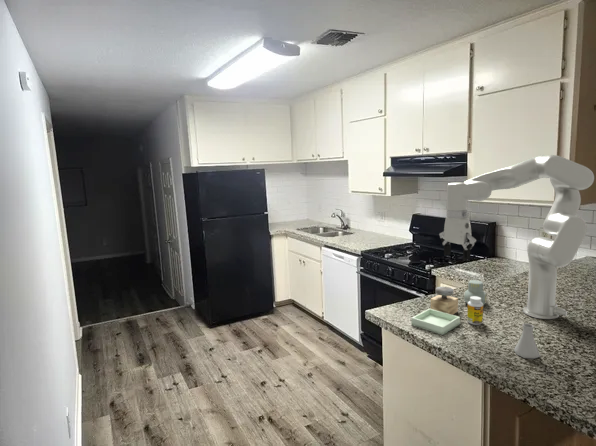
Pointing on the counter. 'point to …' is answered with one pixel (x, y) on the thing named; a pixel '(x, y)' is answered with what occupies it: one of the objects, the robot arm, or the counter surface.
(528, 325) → the flask
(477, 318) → the supplement bottle
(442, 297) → the tan box with knob
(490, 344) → the counter surface
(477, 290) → the air freshener
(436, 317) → the tray
